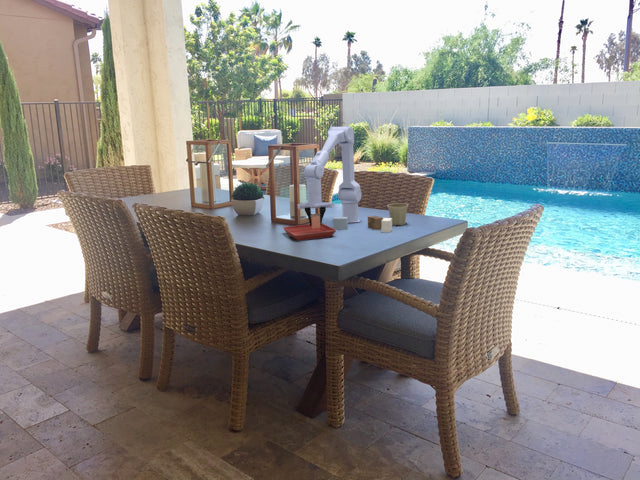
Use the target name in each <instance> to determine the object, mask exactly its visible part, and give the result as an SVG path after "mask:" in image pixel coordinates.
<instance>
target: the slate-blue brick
mask: <svg viewBox="0 0 640 480" xmlns="http://www.w3.org/2000/svg"><path fill="white" fill-rule="evenodd" d="M348 224H349V223H348V219H347V217H343V216H334V217H333V218H332V225H333V227H332V228H333V229H335V230H336V231H339V230H340V231H344V230H345V231H346V230H348V227H349V226H348Z"/></svg>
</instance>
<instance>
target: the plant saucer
mask: <svg viewBox="0 0 640 480" xmlns="http://www.w3.org/2000/svg"><path fill="white" fill-rule="evenodd" d="M282 229H283V230H284V231H285V233H286V234H287V235H289V236H290V237H292V238H293V239H294V240H296V241H306V240H315V239H323V238H331V237H333V236H334V235H335V233H336V232H337V230H335V229H333V227H331V226H329V225H327V224H324V223H323V222H322V225H320V228H315V229H312V226H310V223H308V224H301V225H300V224H299V225H289V226H284V227H282Z"/></svg>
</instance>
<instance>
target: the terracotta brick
mask: <svg viewBox="0 0 640 480" xmlns="http://www.w3.org/2000/svg"><path fill="white" fill-rule="evenodd" d="M311 222H312V229H315V228H320V213H311Z"/></svg>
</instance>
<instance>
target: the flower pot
mask: <svg viewBox="0 0 640 480" xmlns="http://www.w3.org/2000/svg"><path fill="white" fill-rule="evenodd" d="M386 207H387V209H388V212H389V218H392V226H404V225H405V224H406V219H407V218H406V217H407V211H408V207H409V204H407V203H401V202H400V203H390V204H389V203H388V204H387V205H386Z"/></svg>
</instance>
